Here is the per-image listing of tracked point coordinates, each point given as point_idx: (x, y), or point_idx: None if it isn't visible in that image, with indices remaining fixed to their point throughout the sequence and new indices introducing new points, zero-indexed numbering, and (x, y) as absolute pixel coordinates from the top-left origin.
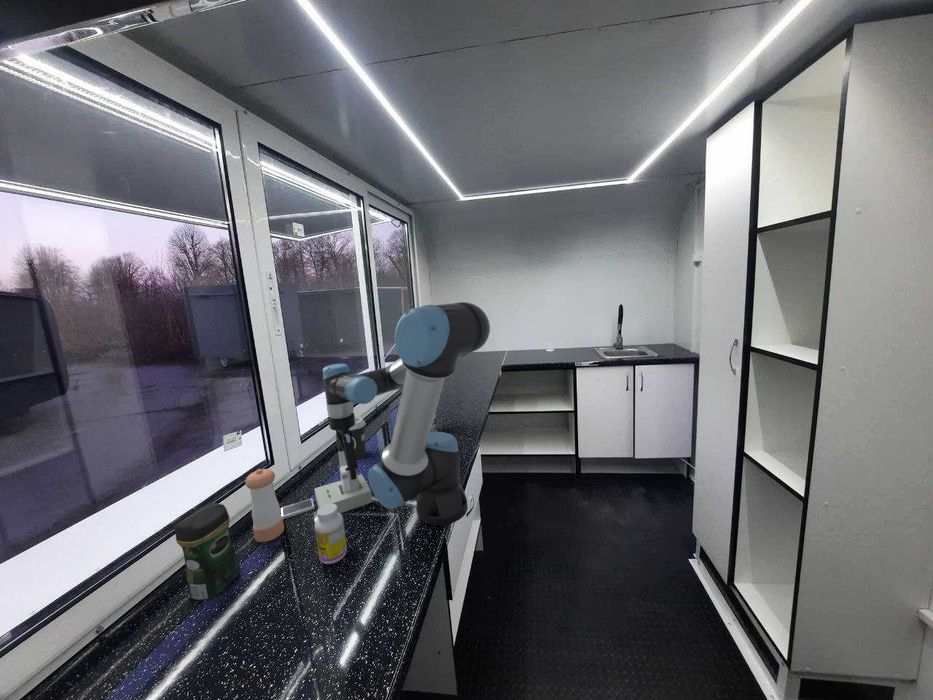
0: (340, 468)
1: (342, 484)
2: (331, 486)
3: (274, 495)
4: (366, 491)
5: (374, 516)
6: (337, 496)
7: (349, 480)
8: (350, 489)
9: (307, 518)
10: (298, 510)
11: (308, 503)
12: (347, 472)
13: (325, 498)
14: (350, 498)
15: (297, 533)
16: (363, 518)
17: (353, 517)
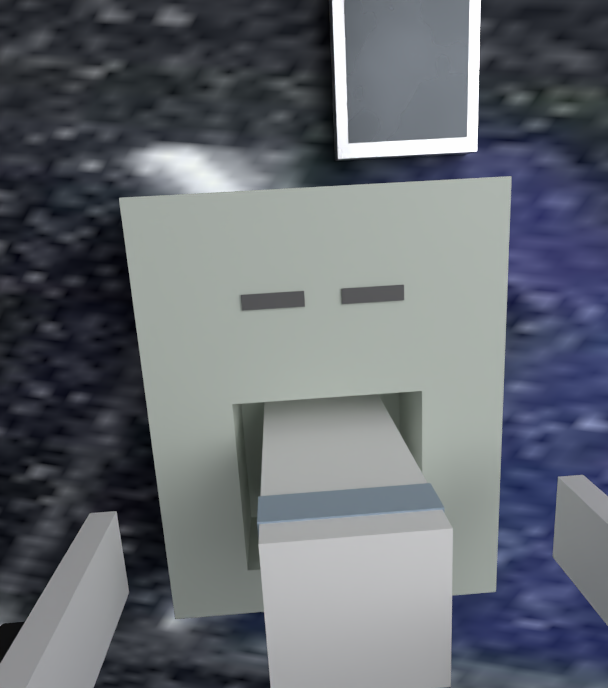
0: (408, 537)
1: (341, 442)
2: (443, 334)
3: None
4: (178, 586)
5: (11, 536)
6: (229, 365)
7: (49, 590)
8: (90, 519)
9: (227, 95)
10: (343, 20)
11: (404, 113)
12: (16, 668)
13: (253, 262)
14: (155, 457)
15: (52, 3)
16: (21, 471)
17: (66, 414)
